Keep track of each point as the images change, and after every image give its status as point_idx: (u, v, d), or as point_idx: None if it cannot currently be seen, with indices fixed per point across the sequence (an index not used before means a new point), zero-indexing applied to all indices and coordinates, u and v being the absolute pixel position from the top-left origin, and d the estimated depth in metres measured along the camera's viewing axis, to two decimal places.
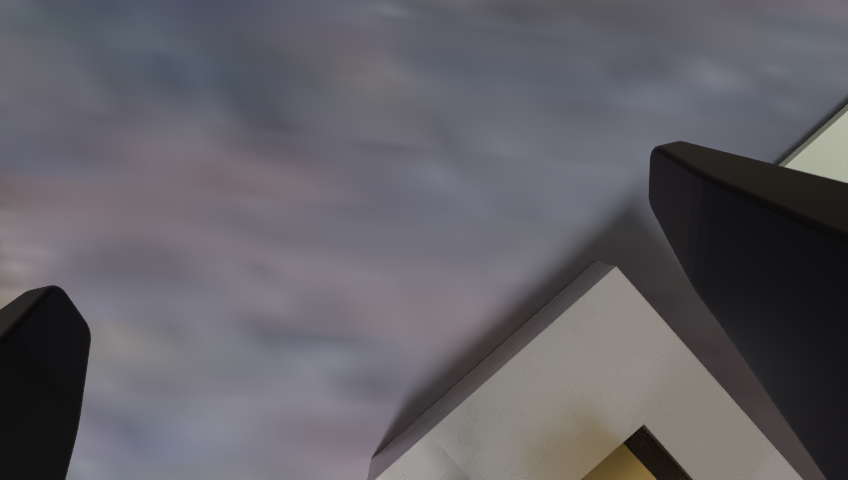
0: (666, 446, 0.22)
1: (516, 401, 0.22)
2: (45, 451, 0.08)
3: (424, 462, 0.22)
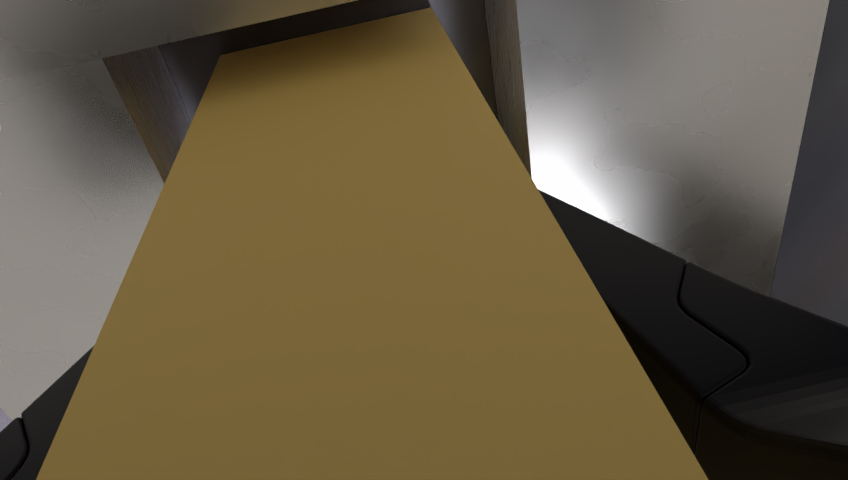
0: (181, 36, 0.09)
1: None
2: None
3: None
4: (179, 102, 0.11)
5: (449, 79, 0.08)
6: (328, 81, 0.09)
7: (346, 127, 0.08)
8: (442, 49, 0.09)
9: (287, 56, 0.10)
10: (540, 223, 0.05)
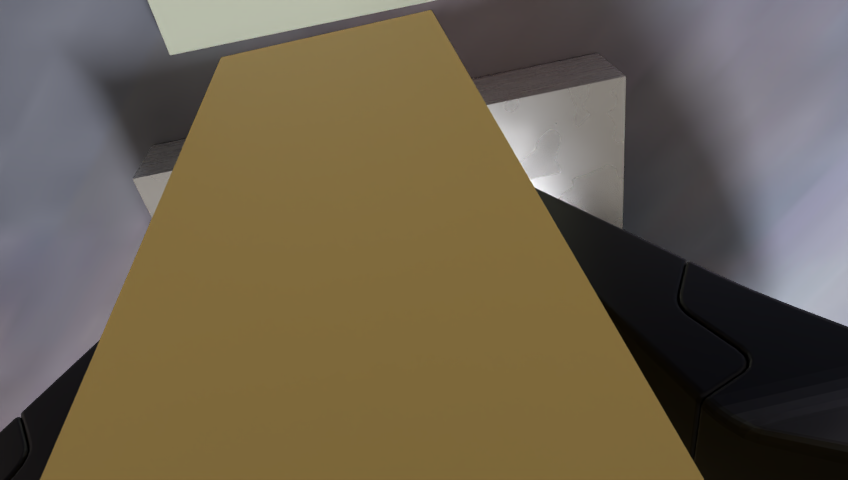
0: None
1: None
2: None
3: None
4: None
5: (450, 83, 0.08)
6: (329, 84, 0.09)
7: (346, 130, 0.08)
8: (442, 52, 0.09)
9: (287, 59, 0.10)
10: (540, 228, 0.05)
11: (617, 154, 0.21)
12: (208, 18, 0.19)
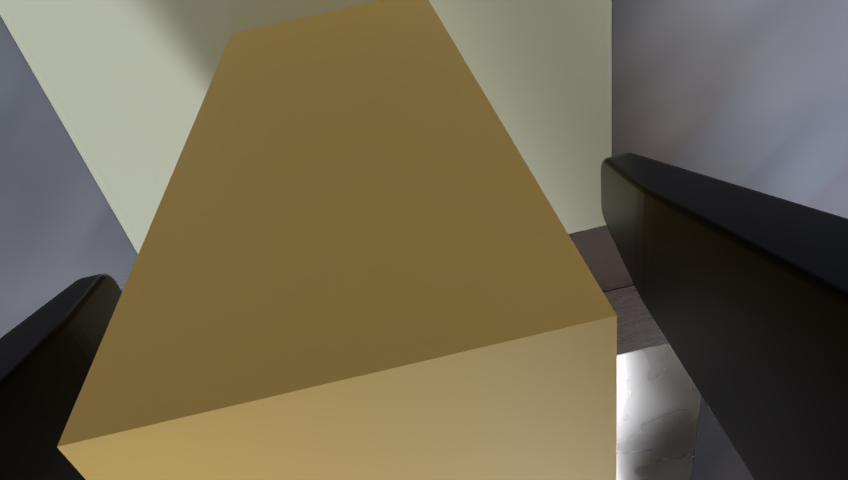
0: None
1: None
2: None
3: None
4: None
5: (436, 49, 0.09)
6: (330, 52, 0.10)
7: (345, 88, 0.09)
8: (431, 25, 0.10)
9: (291, 34, 0.12)
10: (505, 153, 0.06)
11: (693, 399, 0.18)
12: None
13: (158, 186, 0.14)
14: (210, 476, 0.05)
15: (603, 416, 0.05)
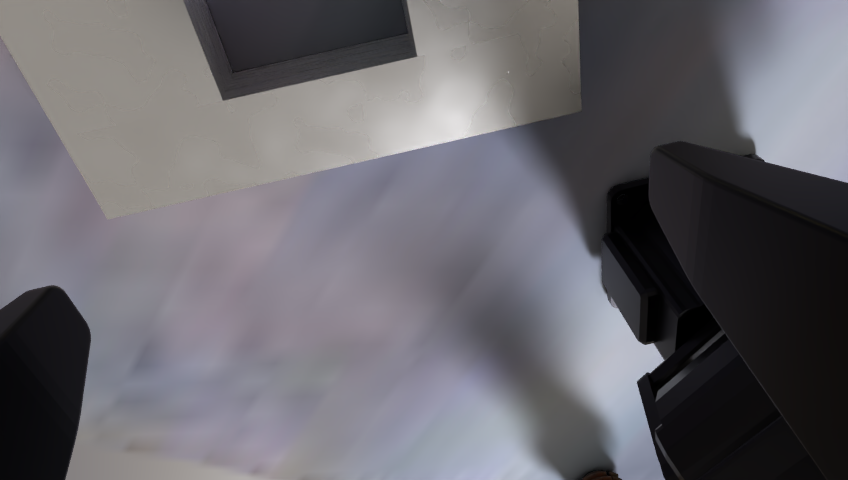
0: None
1: (46, 25, 0.16)
2: (45, 451, 0.08)
3: (96, 156, 0.19)
4: None
5: None
6: None
7: None
8: None
9: None
10: None
11: None
12: None
13: None
14: None
15: None
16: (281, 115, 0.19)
